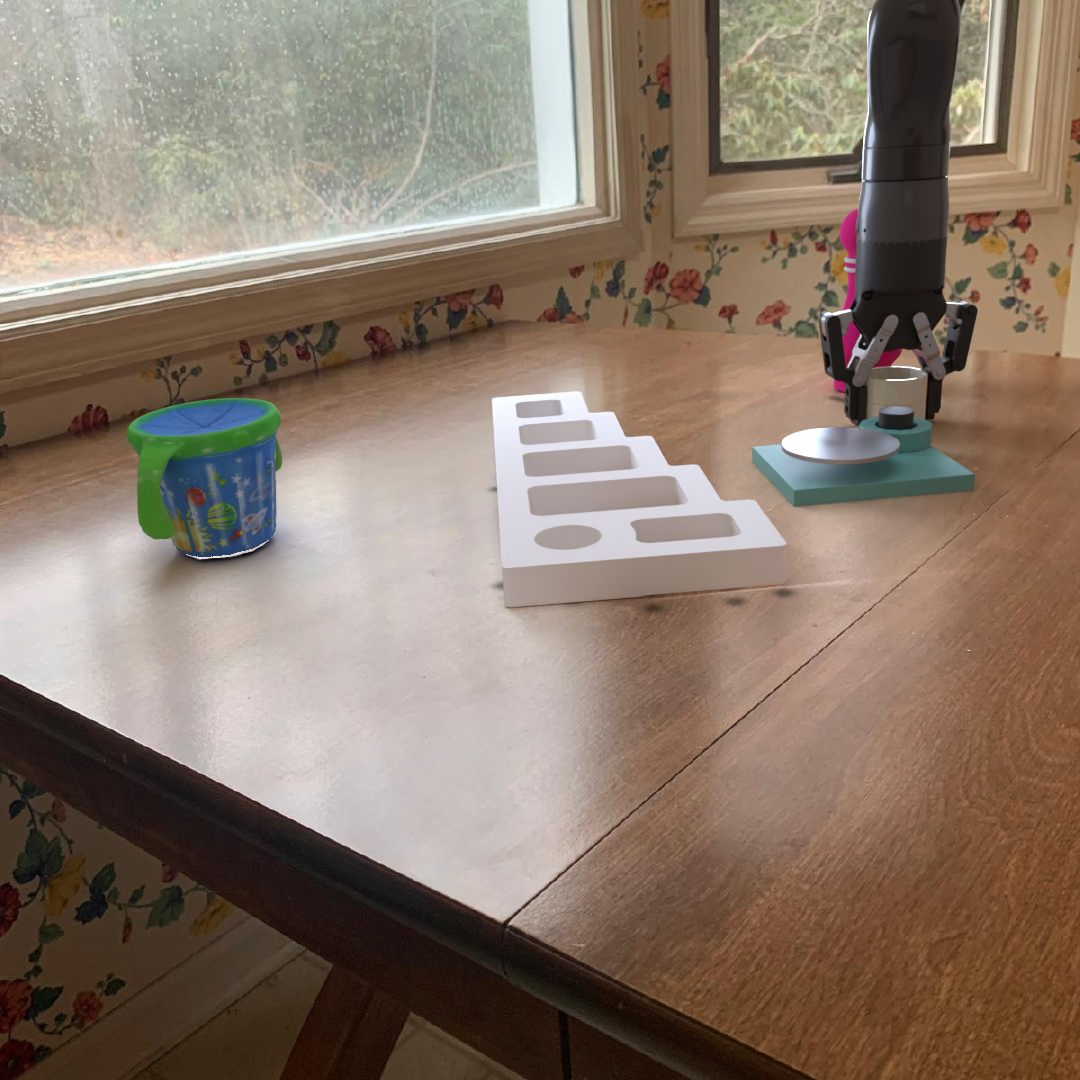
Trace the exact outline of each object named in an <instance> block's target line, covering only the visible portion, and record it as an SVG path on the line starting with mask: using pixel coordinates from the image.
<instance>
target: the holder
mask: <svg viewBox="0 0 1080 1080" xmlns="http://www.w3.org/2000/svg"><path fill="white" fill-rule="evenodd" d="M491 404H492V405H491V406H492V407H491V409H492V424H493V425H492V426H493V441H494V442H493V443H494V459H495V476H496V491H497V492H496V493H497V494H496V495H497V508H498V509H497V511H498V513H497V514H498V527H499V529H498V531H499V544H500V545H499V546H500V561H501V576H502V586H503V587H502V588H503V599H504V606H505V607H506V608H520V607H521V608H522V607H531V606H532V607H533V606H534V607H535V606H545V605H559V604H569V603H582V602H583V603H584V602H593V601H604V600H605V601H606V600H618V599H629V598H641V597H643V598H644V596H653V595H665V594H678V593H679V594H680V593H689V592H690V593H691V592H701V591H702V592H703V591H714V590H716V591H717V590H727V589H738V588H739V589H740V588H751V587H761V586H762V587H763V586H774V585H776V586H777V585H783V584H785V583H786V582H787V541H785V539H784V538H783V536H782V535H781V533H780V532H779V531H778V530H777V528H776V526H774V524H773V523H772V521H771V520H770V519H769V517H768V516H767V514H765V512H764V510H763V509H762V508H761V507H760V505H759V504H758V503H757V501H756V500H755V499H752V498H751V499H750V498H749V499H737V500H735V499H734V500H723V499H721V497H720V496H719V494H718V493H717V491H716V489H715V488H714V487H713V485H712V484H711V482H710V481H709V479H708V477H707V476H706V473H704V471H703V469H702V468H701V467H700V465H699V464H694V463H693V464H682V465H670V464H669V463H668V461H667V460H666V458H665V456H664V454H663V452H662V451H661V448H659V446H658V444H657V442H656V440H655V438H654V436H653V435H640V436H626V435H625V433H624V431H623V428H622V427H621V424H620V423H619V421H618V418H617V416H616V414H615V412H614V411H599V412H590V411H589V408H588V406H587V403H586V401H585V398H584V396H583V393H582V391H579V390H577V391H576V390H575V391H564V392H551V393H550V392H549V393H538V394H525V395H523V394H522V395H512V396H511V395H510V396H498V397H492V398H491Z"/></svg>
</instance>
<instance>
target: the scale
mask: <svg viewBox="0 0 1080 1080" xmlns="http://www.w3.org/2000/svg"><path fill="white" fill-rule="evenodd" d="M878 419H879V417H872V418H869V419H866V420H863V421H862V422H861V423H860V425H859V426H858V428H861V429H869V430H874V431H879V432H883V433H886V434H889V435H891V436H893V437H895V438H896V439H898V440H899V442H900V450H899V452H898V453H897V454H896V455H894V456H892V457H890V458H888V459H885V460H881V461H876V462H871V463H863V464H849V465H836V464H821V463H813V462H808V461H803V460H799V459H796V458H793V457H791V456H789V455H787V454H785V453H784V452H783V451H782V448H781V443H779V444H767V445H756V446H752V447H751V462H752V463H753V464H754V465H755V467H757V469H758V470H759V471H760V472H761V473H762V474H763V475H764V476H765V477H766V478H767V479H768V480H769V481H770V483H771V484H772V485H773V486H774V487H775V488H776V490H778V491H779V492H780V493H781V495H783V496H784V498H785V499H786V500H787V501H788V502H789V503H790V504H791V505H792V506H793V507H795V508H796V507H806V506H815V505H827V504H828V505H829V504H837V503H839V504H840V503H851V502H859V501H860V502H861V501H872V500H883V499H894V498H895V499H896V498H904V497H915V496H917V497H918V496H927V495H939V494H949V493H959V492H971V491H974V490H975V479H976V474H975V473H974V472H973V471H971V470H969V469H968V468H966V467H965V466H964V465H962V464H961V463H959V462H958V461H956V460H954V459H952V458H951V457H949V456H948V455H946V454H945V453H944V452H942V451H940V450H939V449H937V448H936V447H935V446H933V445H931V444H932V442H933V429H934V425H933V423H932V422H931V421H930V420H925V419H921V418H916V417H914V426H913V428H912V429H907V430H887V429H882V428H878Z"/></svg>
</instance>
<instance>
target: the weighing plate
mask: <svg viewBox="0 0 1080 1080" xmlns="http://www.w3.org/2000/svg"><path fill="white" fill-rule="evenodd" d="M780 444H781V448H782V451H783V452H784V453H785V454H787V455H789V456H791V457H793V458H796V459H799V460H803V461H808V462H813V463H821V464H836V465H849V464H863V463H871V462H876V461H881V460H885V459H888V458H890V457H892V456H894V455H896V454H897V453H898V452H899V450H900V442H899V440H898V439H896V438H895V437H893V436H891V435H889V434H886V433H883V432H879V431H874V430H869V429H861V428H859V427H846V426H844V427H843V426H834V427H833V426H831V427H819V428H817V427H816V428H811V429H804V430H801V431H796V432H794V433H791V434H789V435H786V436H785V437H784V438H783V439H782V441H781V443H780Z"/></svg>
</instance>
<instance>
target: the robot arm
mask: <svg viewBox="0 0 1080 1080" xmlns="http://www.w3.org/2000/svg"><path fill="white" fill-rule="evenodd" d="M965 3H966V0H875V1H874V2H873V5H872V7H871V8H870V11H869V15H868V20H867V116H866V119H865V126H864V132H863V144H862V164H861V165H862V166H861V185H860V186H861V187H860V193H859V199H858V204H857V208H858V216H857V223H856V234H857V241H856V242H857V243H856V268H855V297H854V300H853V302H852V304H851V306H850V308H849V310H844V311H842V310H841V311H836V312H833V313H831V312H829V311H822V312H821V313H820V314H819V315H818V329H819V335H820V343H821V353H822V359H823V368H824V373H825V374H826V375H827V376H829V377H830V378H832V379H833V380H834V379H835V380H836V381H842V382H844V383H845V392H844V402H843V403H844V405H843V406H844V407H843V412H844V415H845V417H846V418H847V419H848V420H849V421H850V423H852V424H853V425H855V426H856V427H859V425H860V423H861V422H862V421H863V420H866V400H867V386H865V385H864V383H865V382H866V380H867V378H868V376H869V373H870V371H871V369H872V367H873V366H874V365H875V364H876V363H877V362H878V360H879V358H880V356H881V354H882V352H891V351H894V350H897V349H900V348H901V349H902V350H906V351H912V353H913V355H915V356H916V359H917V361H918V364H919V366H920V369H922V370H924V371H926V372H928V380H927V395H926V411H925V420H927V421H933V420H934V419H935V414H939V412H940V410H941V407H942V393H943V381H944V378H945V377H946V376H948V375H949V374H952V373H954V372H962V371H963V370H964V369H965V368H966V367H967V361H968V356H969V352H970V348H971V343H972V339H973V334H974V329H975V325H976V321H977V317H978V311H979V310H978V307H977V306H976V305H975V304H972V303H971V302H967V301H963V300H957V301H955V302H951V301H947V300H946V298H945V296H944V292H943V291H944V290H943V289H944V285H945V278H946V277H945V276H946V264H947V263H946V262H947V249H948V247H947V246H948V233H949V232H948V231H949V218H950V217H949V216H950V194H949V193H950V192H949V176H948V175H949V170H950V169H949V168H950V155H951V140H952V139H951V135H952V134H951V133H952V131H951V130H952V129H951V103H952V96H953V90H954V82H955V76H956V75H955V74H956V69H957V61H958V52H959V44H960V33H961V21H962V20H961V18H962V17H961V14H962V12H963V9H964V6H965ZM944 316H945V321H944V322H945V323H946V325H948V327H947V332H946V336H945V337H946V338H945V341H944V346H943V351H942V355H941V351H940V348H939V346H938V343H937V341H936V338H935V336H934V334H933V331H934V330H935V328H936V327H937V326H938V324H939V323H940V321H941V320H942V319H943V317H944ZM851 322H853V323H854V325H855V326H856V328H857V329H858V330H859V332H860V336H859V338H858V340H857V342H856V344H855V346H854V348H853V351H852V357H851V359H850V361H849V363H848V366H847V367H846V364H845V355H844V347H843V338H842V337H843V336H845V335H846V333H847V331H848V325H849V324H850V323H851ZM875 349H876V350H875Z"/></svg>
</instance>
